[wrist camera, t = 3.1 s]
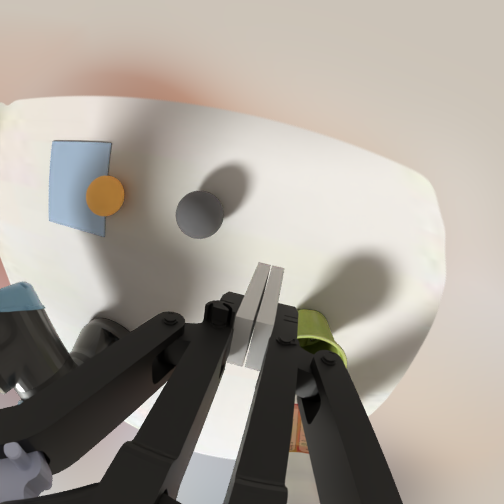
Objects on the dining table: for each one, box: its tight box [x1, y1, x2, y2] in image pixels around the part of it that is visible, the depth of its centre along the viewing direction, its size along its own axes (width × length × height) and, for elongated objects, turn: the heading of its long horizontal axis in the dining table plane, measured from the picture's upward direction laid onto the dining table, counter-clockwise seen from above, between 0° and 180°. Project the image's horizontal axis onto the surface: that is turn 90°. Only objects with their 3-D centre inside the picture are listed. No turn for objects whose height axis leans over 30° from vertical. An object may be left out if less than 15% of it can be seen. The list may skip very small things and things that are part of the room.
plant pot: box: [297, 309, 347, 368], centre depth 33 cm, size 9×9×9 cm
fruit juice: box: [285, 395, 320, 504], centre depth 29 cm, size 9×9×28 cm
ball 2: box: [176, 191, 224, 239], centre depth 32 cm, size 6×6×6 cm
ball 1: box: [86, 176, 124, 216], centre depth 33 cm, size 6×6×6 cm
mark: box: [49, 141, 111, 237], centre depth 36 cm, size 14×14×1 cm
